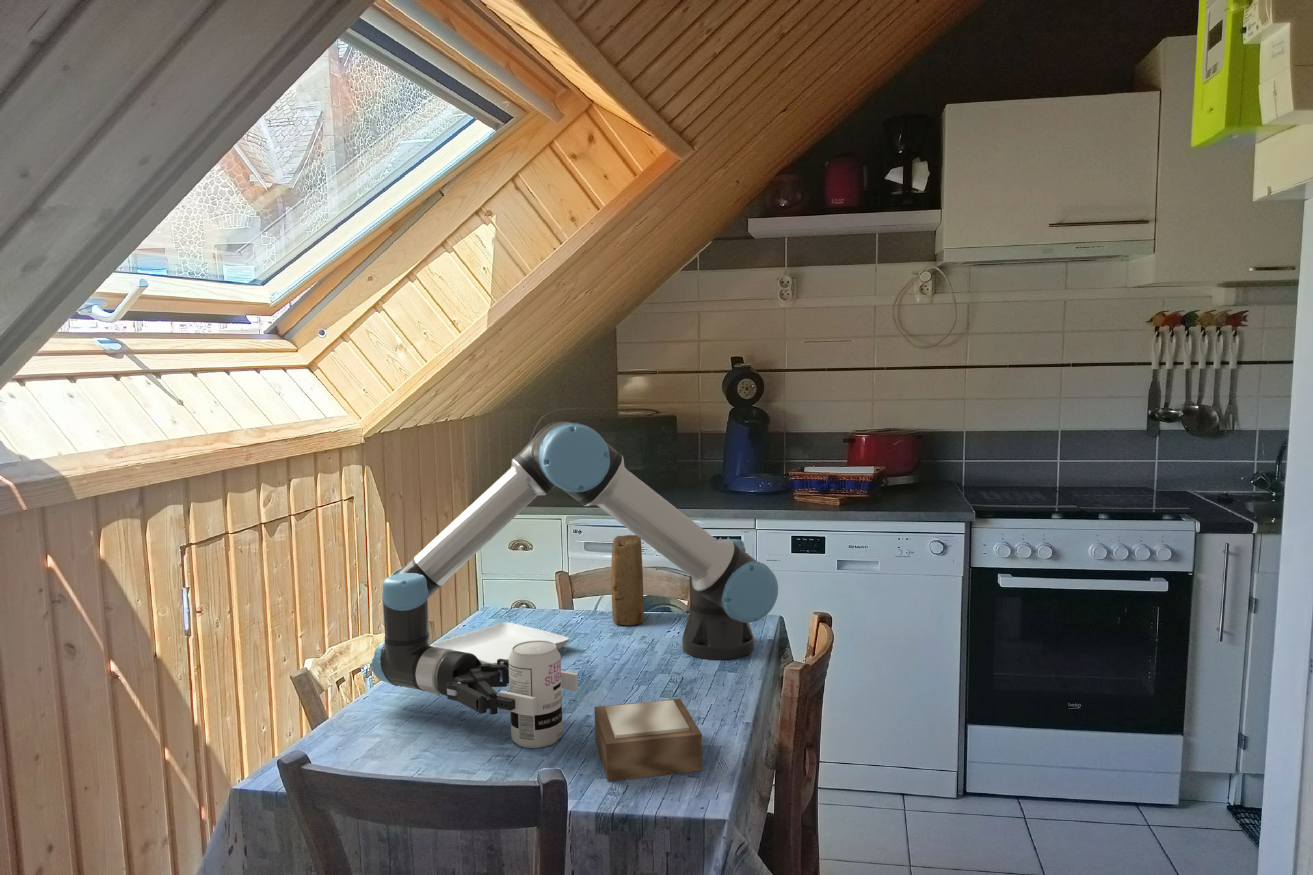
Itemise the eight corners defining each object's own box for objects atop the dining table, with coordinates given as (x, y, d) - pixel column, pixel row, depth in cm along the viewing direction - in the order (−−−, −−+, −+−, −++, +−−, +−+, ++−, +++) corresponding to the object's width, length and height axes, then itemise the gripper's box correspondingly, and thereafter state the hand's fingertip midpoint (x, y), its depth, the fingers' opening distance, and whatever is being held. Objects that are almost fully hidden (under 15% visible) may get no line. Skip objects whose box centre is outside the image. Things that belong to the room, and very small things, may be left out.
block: (643, 627, 196) (641, 541, 194) (611, 627, 196) (609, 541, 194) (645, 613, 207) (643, 532, 205) (614, 614, 207) (612, 532, 205)
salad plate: (506, 634, 194) (505, 619, 193) (572, 652, 180) (572, 636, 180) (428, 659, 177) (427, 643, 177) (494, 681, 164) (494, 663, 164)
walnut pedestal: (681, 731, 138) (680, 695, 138) (702, 770, 125) (701, 730, 124) (595, 740, 136) (594, 703, 135) (607, 781, 122) (606, 740, 121)
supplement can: (512, 729, 140) (509, 640, 139) (563, 726, 141) (560, 638, 140) (509, 751, 132) (506, 656, 131) (563, 747, 133) (560, 653, 132)
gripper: (495, 672, 155) (596, 692, 145) (400, 719, 135) (510, 745, 124) (493, 632, 155) (595, 649, 144) (398, 672, 134) (509, 695, 124)
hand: (556, 693), depth 134 cm, fingers open, 11 cm apart
